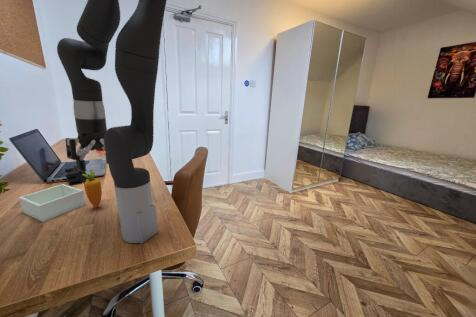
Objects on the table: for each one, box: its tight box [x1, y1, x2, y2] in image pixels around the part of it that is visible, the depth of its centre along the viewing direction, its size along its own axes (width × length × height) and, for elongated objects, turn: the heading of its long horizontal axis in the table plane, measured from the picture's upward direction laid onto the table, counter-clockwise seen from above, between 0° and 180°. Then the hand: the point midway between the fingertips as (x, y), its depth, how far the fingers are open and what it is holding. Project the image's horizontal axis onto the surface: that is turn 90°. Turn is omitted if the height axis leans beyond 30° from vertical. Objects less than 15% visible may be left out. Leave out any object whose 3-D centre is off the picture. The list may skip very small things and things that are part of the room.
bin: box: [18, 183, 86, 223], centre depth 77 cm, size 13×13×6 cm
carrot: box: [82, 169, 103, 209], centre depth 77 cm, size 5×5×15 cm
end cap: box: [64, 165, 88, 187], centre depth 102 cm, size 10×7×7 cm
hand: (97, 167), depth 67 cm, fingers open, 8 cm apart
